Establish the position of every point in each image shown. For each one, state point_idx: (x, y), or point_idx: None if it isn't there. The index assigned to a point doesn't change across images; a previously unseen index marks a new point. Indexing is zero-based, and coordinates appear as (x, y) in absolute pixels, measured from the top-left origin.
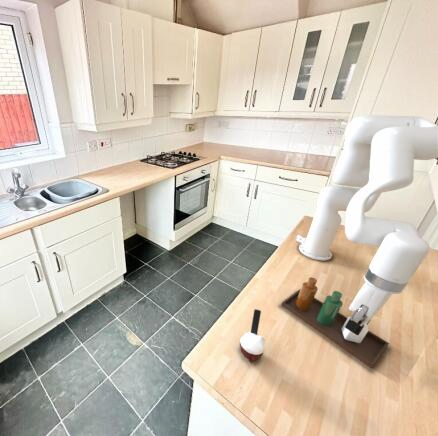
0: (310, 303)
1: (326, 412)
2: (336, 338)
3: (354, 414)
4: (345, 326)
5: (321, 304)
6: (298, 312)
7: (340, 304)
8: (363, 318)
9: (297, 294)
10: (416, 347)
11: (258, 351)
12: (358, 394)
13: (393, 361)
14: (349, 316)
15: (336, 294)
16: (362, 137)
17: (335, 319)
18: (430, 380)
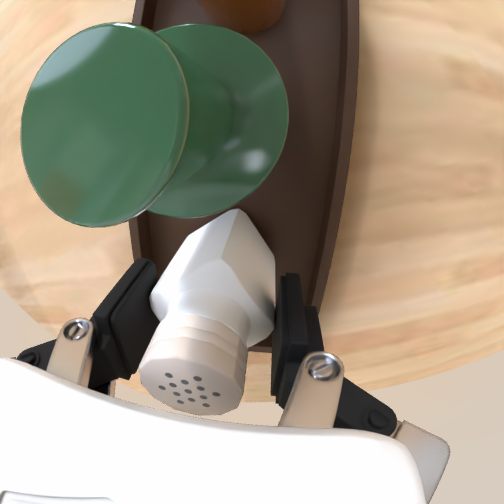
0: (219, 8)
1: (2, 270)
2: (133, 219)
3: (37, 306)
4: (135, 261)
5: (344, 64)
6: (138, 21)
7: (173, 201)
8: (148, 390)
9: None
10: (372, 371)
11: None
12: (69, 306)
13: (258, 353)
14: (222, 264)
15: (39, 129)
16: None
17: (302, 158)
18: (269, 399)
